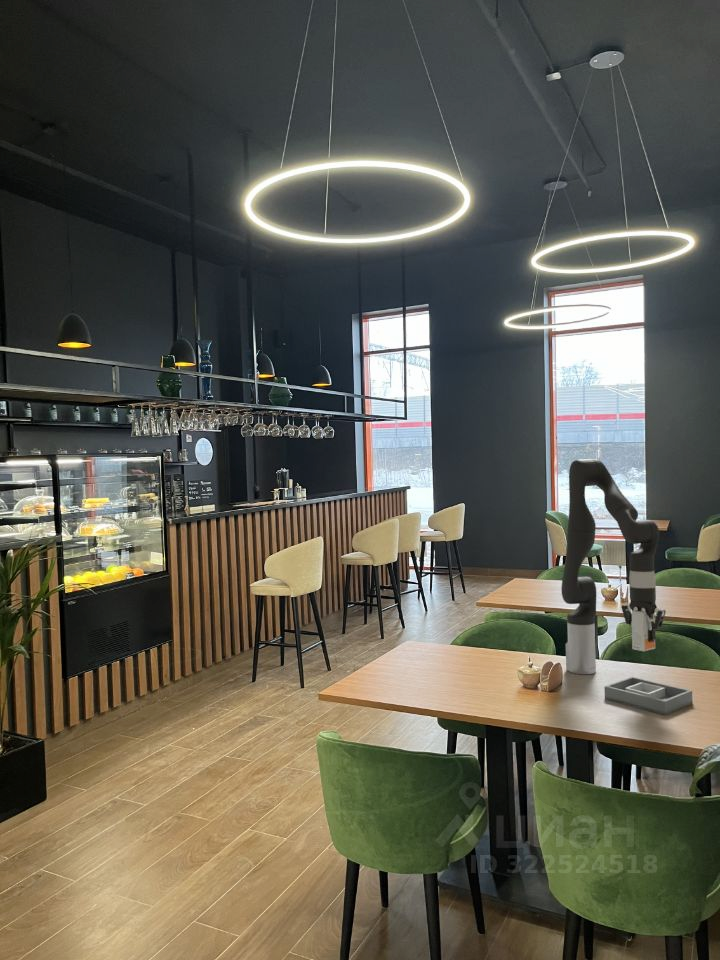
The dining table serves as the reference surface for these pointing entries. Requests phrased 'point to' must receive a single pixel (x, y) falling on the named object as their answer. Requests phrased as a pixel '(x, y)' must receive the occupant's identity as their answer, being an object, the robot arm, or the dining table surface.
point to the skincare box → (640, 632)
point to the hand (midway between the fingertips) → (643, 640)
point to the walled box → (648, 695)
